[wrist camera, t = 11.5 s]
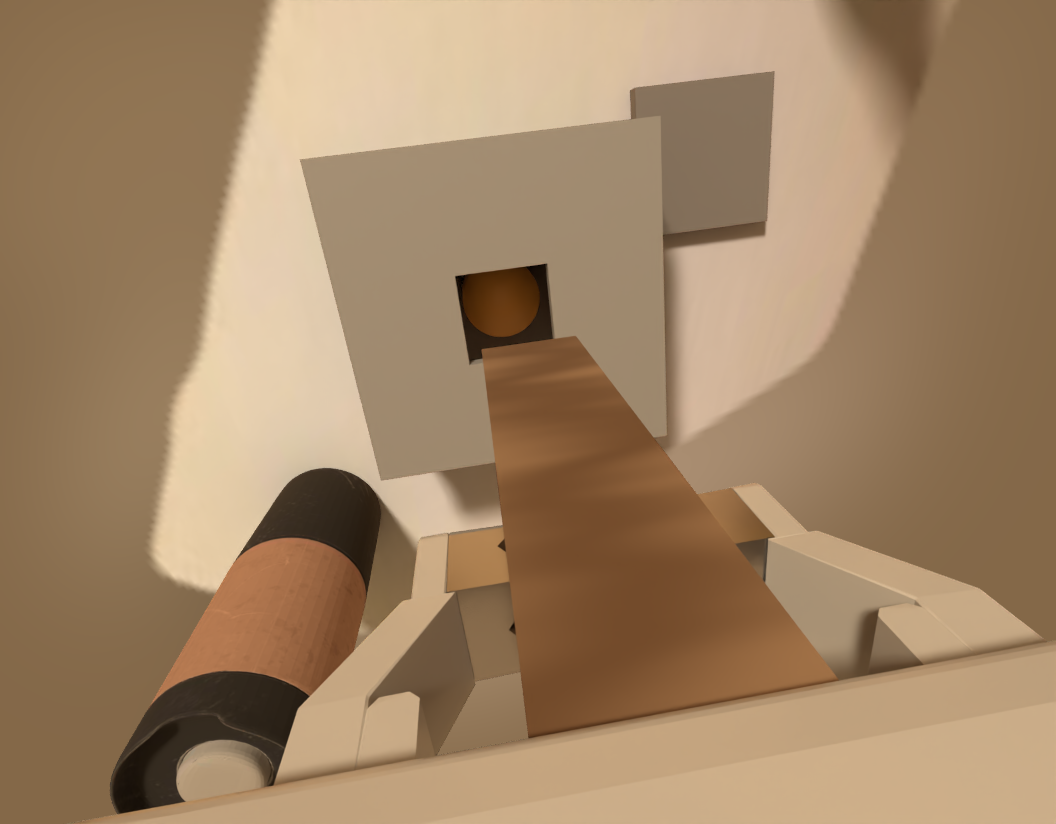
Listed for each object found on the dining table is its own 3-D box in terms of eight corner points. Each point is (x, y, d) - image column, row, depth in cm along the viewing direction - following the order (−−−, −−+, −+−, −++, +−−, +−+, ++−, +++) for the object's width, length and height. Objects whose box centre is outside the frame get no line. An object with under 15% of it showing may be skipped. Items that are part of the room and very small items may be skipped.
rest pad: (765, 74, 32) (774, 71, 31) (758, 219, 35) (766, 220, 34) (630, 90, 31) (635, 87, 30) (635, 236, 35) (640, 237, 34)
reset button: (530, 249, 33) (535, 254, 31) (538, 321, 35) (543, 331, 32) (456, 259, 33) (456, 264, 30) (468, 331, 34) (469, 342, 32)
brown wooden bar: (575, 335, 17) (1191, 1140, 3) (583, 421, 19) (1044, 1316, 4) (481, 349, 17) (595, 1292, 3) (495, 435, 18) (626, 1424, 4)
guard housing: (614, 131, 32) (660, 115, 25) (627, 387, 38) (666, 435, 31) (337, 165, 31) (299, 159, 24) (396, 422, 37) (381, 480, 30)
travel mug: (346, 572, 42) (254, 880, 23) (252, 521, 39) (66, 821, 21) (406, 501, 40) (359, 772, 21) (312, 443, 37) (167, 693, 19)
